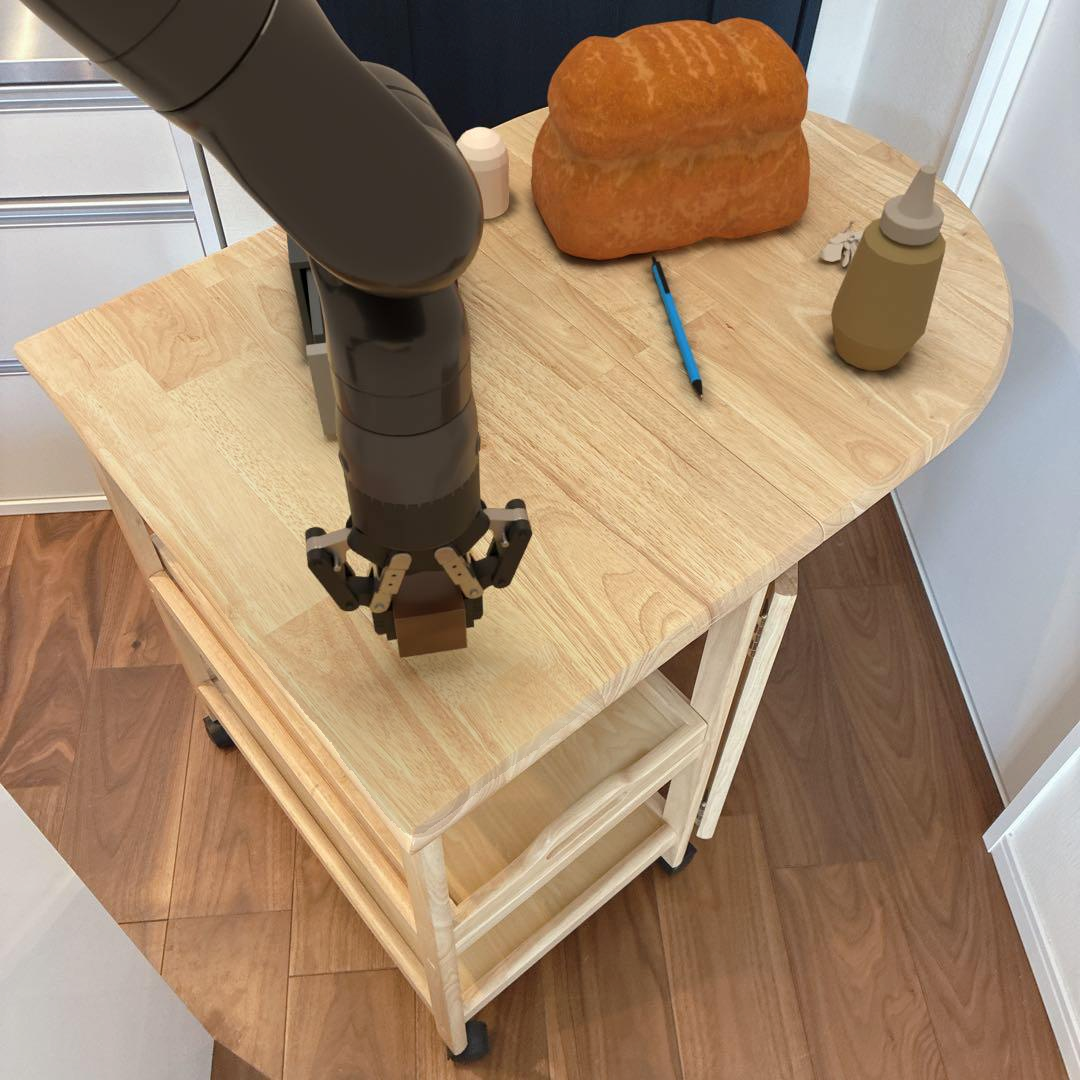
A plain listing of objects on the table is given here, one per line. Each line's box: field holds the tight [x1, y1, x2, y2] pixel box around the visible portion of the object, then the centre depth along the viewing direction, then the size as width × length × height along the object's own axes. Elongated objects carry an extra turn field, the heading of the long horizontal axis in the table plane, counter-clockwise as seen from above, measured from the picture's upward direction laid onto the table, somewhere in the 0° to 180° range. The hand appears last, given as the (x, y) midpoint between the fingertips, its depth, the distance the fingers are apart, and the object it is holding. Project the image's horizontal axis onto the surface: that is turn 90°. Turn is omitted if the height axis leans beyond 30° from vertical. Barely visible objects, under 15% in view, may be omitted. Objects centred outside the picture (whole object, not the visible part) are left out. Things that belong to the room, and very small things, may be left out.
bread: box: [530, 16, 811, 261], centre depth 100 cm, size 16×26×17 cm, turn 106°
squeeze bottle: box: [830, 164, 947, 372], centre depth 87 cm, size 8×8×18 cm
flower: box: [817, 219, 864, 268], centre depth 101 cm, size 8×8×3 cm
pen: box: [651, 255, 704, 398], centre depth 95 cm, size 1×19×1 cm, turn 9°
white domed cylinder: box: [456, 126, 510, 220], centre depth 104 cm, size 5×5×8 cm
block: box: [391, 570, 468, 659], centre depth 69 cm, size 4×4×4 cm
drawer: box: [305, 267, 337, 437], centre depth 86 cm, size 18×12×9 cm
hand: (428, 622), depth 71 cm, fingers closed on block, 4 cm apart
